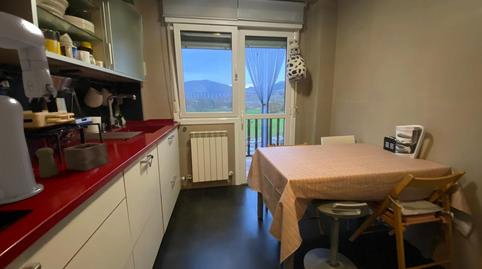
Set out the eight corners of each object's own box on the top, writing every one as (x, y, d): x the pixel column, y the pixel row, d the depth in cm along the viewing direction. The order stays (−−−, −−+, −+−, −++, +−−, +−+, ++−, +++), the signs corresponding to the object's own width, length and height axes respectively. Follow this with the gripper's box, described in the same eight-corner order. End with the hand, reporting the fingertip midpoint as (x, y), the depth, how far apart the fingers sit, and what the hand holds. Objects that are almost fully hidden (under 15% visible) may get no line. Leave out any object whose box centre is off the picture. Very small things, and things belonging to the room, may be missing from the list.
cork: (62, 170, 91) (56, 145, 89) (55, 175, 85) (49, 149, 83) (44, 173, 89) (38, 147, 87) (36, 178, 83) (29, 151, 81)
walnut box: (86, 170, 90) (82, 149, 88) (67, 168, 93) (63, 148, 91) (109, 162, 100) (105, 143, 98) (91, 161, 103) (87, 142, 101)
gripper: (8, 67, 79) (19, 113, 83) (37, 63, 74) (48, 113, 77) (33, 69, 86) (42, 111, 90) (61, 65, 80) (70, 111, 84)
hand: (45, 112), depth 83 cm, fingers open, 9 cm apart
